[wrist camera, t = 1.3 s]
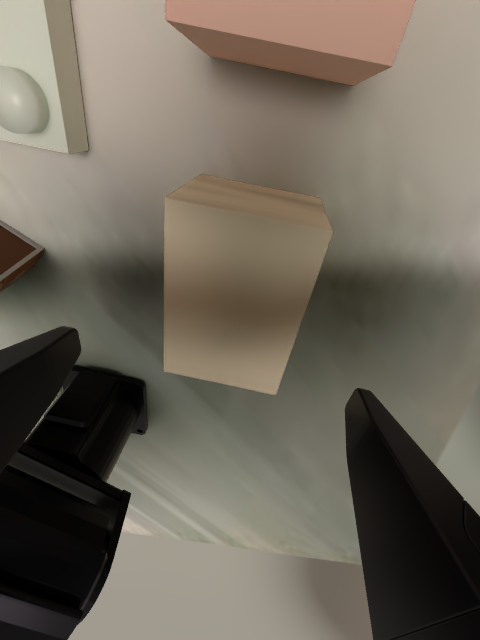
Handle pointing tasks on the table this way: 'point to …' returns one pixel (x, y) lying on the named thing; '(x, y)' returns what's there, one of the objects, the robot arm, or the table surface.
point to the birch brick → (238, 279)
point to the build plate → (40, 77)
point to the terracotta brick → (298, 34)
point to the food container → (16, 254)
